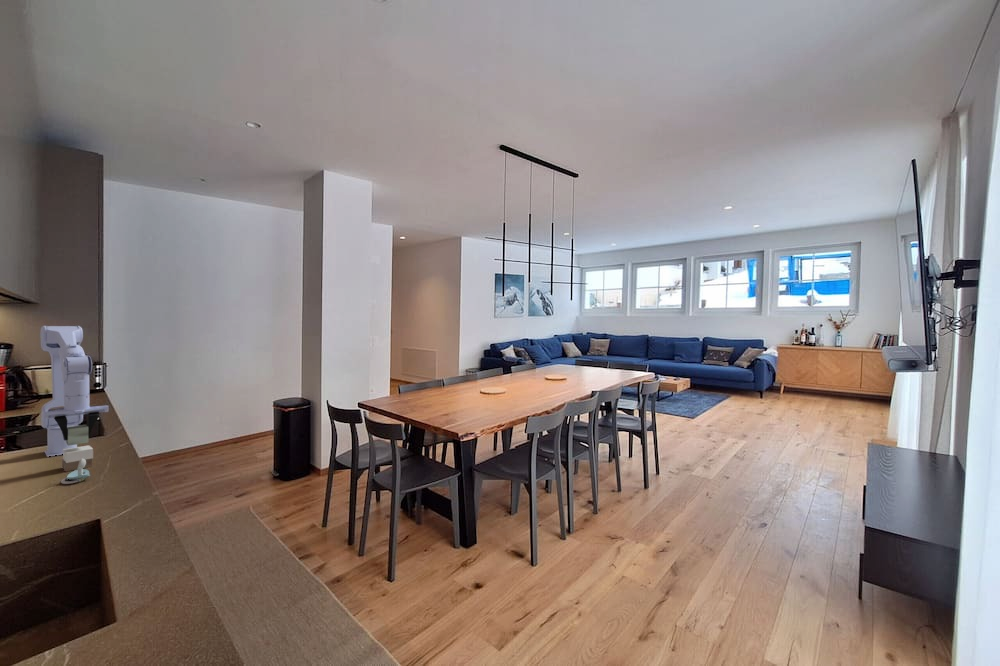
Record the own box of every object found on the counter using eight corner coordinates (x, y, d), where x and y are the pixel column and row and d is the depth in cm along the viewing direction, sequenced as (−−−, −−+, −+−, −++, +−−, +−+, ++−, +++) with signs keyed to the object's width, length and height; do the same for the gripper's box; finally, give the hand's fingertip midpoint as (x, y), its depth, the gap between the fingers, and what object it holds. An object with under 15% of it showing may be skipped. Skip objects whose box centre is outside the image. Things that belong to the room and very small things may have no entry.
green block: (66, 442, 134) (65, 427, 134) (85, 440, 137) (85, 424, 137) (68, 445, 131) (68, 429, 131) (88, 442, 135) (88, 426, 135)
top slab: (62, 458, 134) (62, 449, 134) (89, 454, 139) (89, 445, 139) (66, 462, 130) (66, 453, 130) (93, 458, 135) (93, 448, 135)
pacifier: (61, 487, 119) (91, 481, 123) (60, 465, 119) (89, 460, 123) (60, 480, 124) (89, 475, 128) (59, 459, 124) (88, 454, 128)
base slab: (62, 468, 134) (62, 458, 134) (88, 463, 139) (88, 454, 139) (64, 472, 130) (64, 463, 130) (91, 467, 135) (91, 458, 135)
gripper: (44, 399, 126) (45, 445, 126) (110, 393, 137) (110, 435, 137) (42, 396, 130) (42, 441, 131) (106, 391, 142) (106, 432, 142)
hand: (77, 438), depth 134 cm, fingers closed on green block, 4 cm apart
